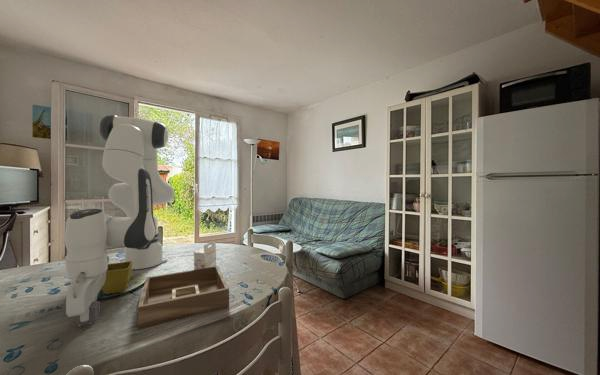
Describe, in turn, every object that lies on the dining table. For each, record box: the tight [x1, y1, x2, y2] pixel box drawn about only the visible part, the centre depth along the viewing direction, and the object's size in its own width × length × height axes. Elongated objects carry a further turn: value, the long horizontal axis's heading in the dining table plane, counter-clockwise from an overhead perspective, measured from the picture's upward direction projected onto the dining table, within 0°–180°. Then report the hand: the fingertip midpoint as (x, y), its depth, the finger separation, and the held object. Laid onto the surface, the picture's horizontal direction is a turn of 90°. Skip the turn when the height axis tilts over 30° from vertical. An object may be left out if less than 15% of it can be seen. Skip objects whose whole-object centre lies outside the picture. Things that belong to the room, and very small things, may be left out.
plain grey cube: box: [76, 300, 101, 327], centre depth 67 cm, size 4×4×4 cm
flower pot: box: [101, 261, 133, 295], centre depth 85 cm, size 9×9×9 cm
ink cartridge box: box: [193, 240, 217, 270], centre depth 98 cm, size 9×5×15 cm, turn 168°
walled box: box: [137, 265, 230, 330], centre depth 79 cm, size 22×24×6 cm
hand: (88, 314), depth 67 cm, fingers open, 4 cm apart
